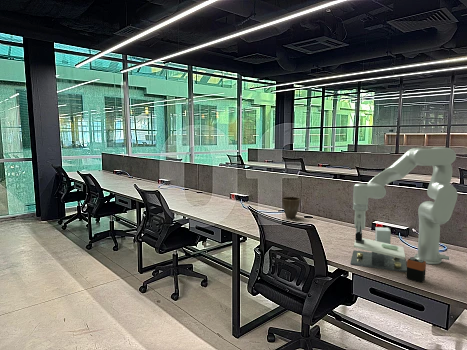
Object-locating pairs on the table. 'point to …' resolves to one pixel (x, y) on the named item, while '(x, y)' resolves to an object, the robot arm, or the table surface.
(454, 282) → the table surface
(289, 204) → the plant pot
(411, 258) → the battery
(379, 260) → the tribrach base
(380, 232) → the supplement box
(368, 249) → the level plate
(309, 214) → the table surface
